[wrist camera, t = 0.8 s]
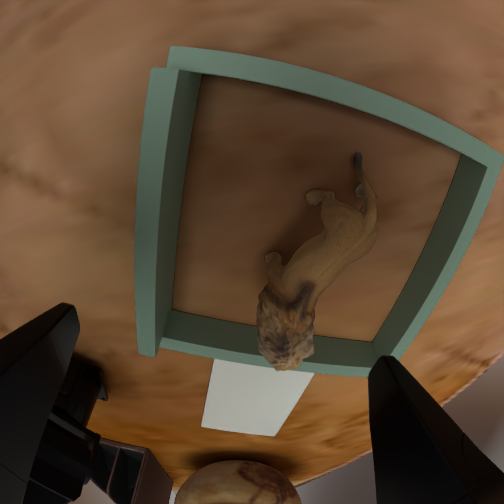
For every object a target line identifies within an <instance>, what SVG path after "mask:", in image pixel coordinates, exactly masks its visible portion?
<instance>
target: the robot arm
mask: <svg viewBox="0 0 504 504" xmlns="http://www.w3.org/2000/svg"><path fill="white" fill-rule="evenodd" d="M79 332H80V323H79V319H78V316H77V311H76V308H75V306H74V305H71V304H68V303H64V302H63V303H60V304H58V305H56V306H55V307H53V308H51V309H49V310H48V311H46V312H44V313H43V314H41V315H39V316H38V317H36V318H34V319H33V320H31V321H29V322H28V323H26V324H24V325H23V326H21V327H19V328H18V329H16V330H14V331H13V332H11V333H10V334H8V335H6V336H5V337H3V338H2V339H0V504H68V503H69V502H71V501H75V500H76V499H77V498H78V497H80V495H81V491H82V487H83V485H85V484H87V483H88V481H89V480H90V478H91V476H92V474H93V471H94V468H95V463H96V458H97V452H98V447H99V442H100V437H101V435H99V434H98V433H94V432H92V431H91V430H89V429H87V428H86V426H87V424H88V421H89V418H90V416H91V413H92V411H93V408H94V405H95V403H96V400H97V399H100V400H103V401H107V400H108V395H107V391H106V388H105V384H104V381H103V377H102V373H101V370H100V369H99V368H98V367H96V366H92V365H89V364H86V363H84V362H81V361H78V360H75V359H72V358H71V356H72V353H73V350H74V347H75V344H76V341H77V338H78V335H79ZM368 395H369V423H370V432H371V441H372V450H373V459H374V471H375V483H376V498H377V504H504V473H503V472H502V471H501V470H500V469H499V468H498V467H497V466H496V465H495V464H494V463H493V462H492V461H491V460H490V459H489V458H488V457H487V456H486V455H484V453H483V452H482V451H481V450H479V448H478V447H477V446H476V445H475V444H474V443H473V442H472V441H471V440H470V439H469V437H468V436H467V435H466V434H465V433H464V432H463V431H462V430H461V429H460V427H459V426H458V425H457V424H456V423H455V422H454V421H453V420H452V418H451V417H450V416H449V415H448V414H447V413H446V412H445V411H444V410H443V408H442V407H441V406H440V405H439V404H438V403H437V402H436V401H435V400H434V399H433V397H432V396H431V395H430V394H429V393H428V392H427V391H426V390H425V389H424V388H423V387H422V386H421V384H420V383H419V382H418V381H417V380H416V379H415V378H414V377H413V376H412V375H411V374H410V373H409V372H408V370H407V369H406V368H405V367H404V366H403V365H402V364H401V363H400V362H399V361H398V360H397V359H396V358H395V357H394V356H391V355H382V356H380V357H379V358H378V360H377V361H376V363H375V364H374V366H373V367H372V369H371V370H370V372H369V375H368Z"/></svg>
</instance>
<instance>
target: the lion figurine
mask: <svg viewBox="0 0 504 504" xmlns="http://www.w3.org/2000/svg"><path fill="white" fill-rule="evenodd" d="M354 167H355V170H356V174H357V176H358V178H359V180H360V183H361V184H360V185H358V186H357V188H356V190H355V193H356V196H357V198H358V199H364V201H363V205H362V207H361V209H360V211H358V210H357V209H356V208H354V207H352V206H350V205H348V204H346V203H343V202H340V201H338V200H336V198H335V193H334V192H333V191H321V190H311V191H309V192H307V193H306V195H305V201H306V202H307V203H308V204H310V205H311V206H316V205H318V204H319V203H320V202H321V201H322V209H321V219H322V221H323V225H324V231H323V232H322V233H320V234H318V235H316V236H314V237H312V238H311V239H309V240H308V241H306V242H305V243H304V244H303V245H302V246H301V247H300V248H298V250H297V251H296V252H295V253H294V255H293V256H292V258H291V259H290V261H289V262H288V264H287V265H286V267H284V266H282V265H281V262H282V256H281V255H280V254H278V253H277V252H269V253H267V254H266V256H265V258H266V262H267V263H268V264H269V269H268V280H269V283H268V284H267V285H266V286H265V287H264V289H263V291H262V292H261V293H260V294H259V304H258V306H257V327H258V334H257V339H258V343H259V352H260V353H261V354H263V356H264V358H265V359H266V361H268V362H269V363H270V365H272V366H273V367H274V369H275V370H276V371H280V370H281V371H286V370H292V369H297V368H298V367H299V366H300V364H301V363H302V362H303V358H307V357H309V356H311V355H313V353H314V344H313V342H312V341H313V334H314V326H313V321H314V318H315V310H314V307H315V305H316V302H317V298H318V297H319V295H320V294H321V293H322V292H323V291H324V290H325V289H326V288H327V287H328V286H329V285H330V284H331V283H332V282H333V280H334V279H335V278H336V276H337V275H338V274H339V272H340V271H341V270H342V269H343V268H344V267H345V266H347V265H348V264H350V263H352V262H354V261H356V260H358V259H359V258H361V257H362V256H364V255H365V254H366V253H367V252H368V251H369V250H370V249H371V248H372V246H373V244H374V242H375V240H376V238H377V236H378V228H377V225H376V220H377V203H376V198H377V197H376V194H375V192H374V191H373V189H372V187H371V186H370V184H369V182H368V181H367V179H366V177H365V174H364V172H363V169H362V156H361V153H359V152H357V153H356V156H355V157H354Z"/></svg>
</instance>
